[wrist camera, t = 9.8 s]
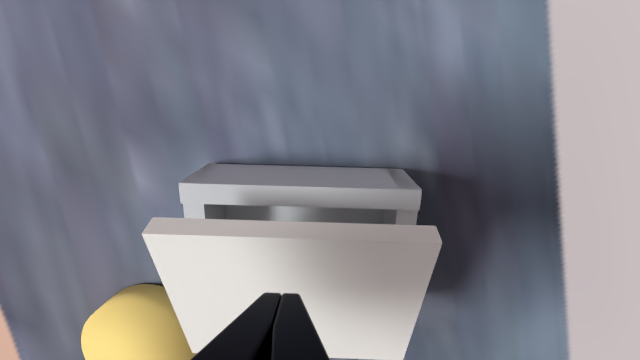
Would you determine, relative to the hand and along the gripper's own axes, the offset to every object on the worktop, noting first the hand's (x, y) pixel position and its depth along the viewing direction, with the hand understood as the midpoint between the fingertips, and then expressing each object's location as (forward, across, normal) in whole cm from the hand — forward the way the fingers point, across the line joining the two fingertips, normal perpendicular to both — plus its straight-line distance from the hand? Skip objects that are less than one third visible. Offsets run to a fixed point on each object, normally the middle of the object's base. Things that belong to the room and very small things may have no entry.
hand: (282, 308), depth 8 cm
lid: (+4, 0, +2) cm, 4 cm away
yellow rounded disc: (+8, +8, +8) cm, 14 cm away
